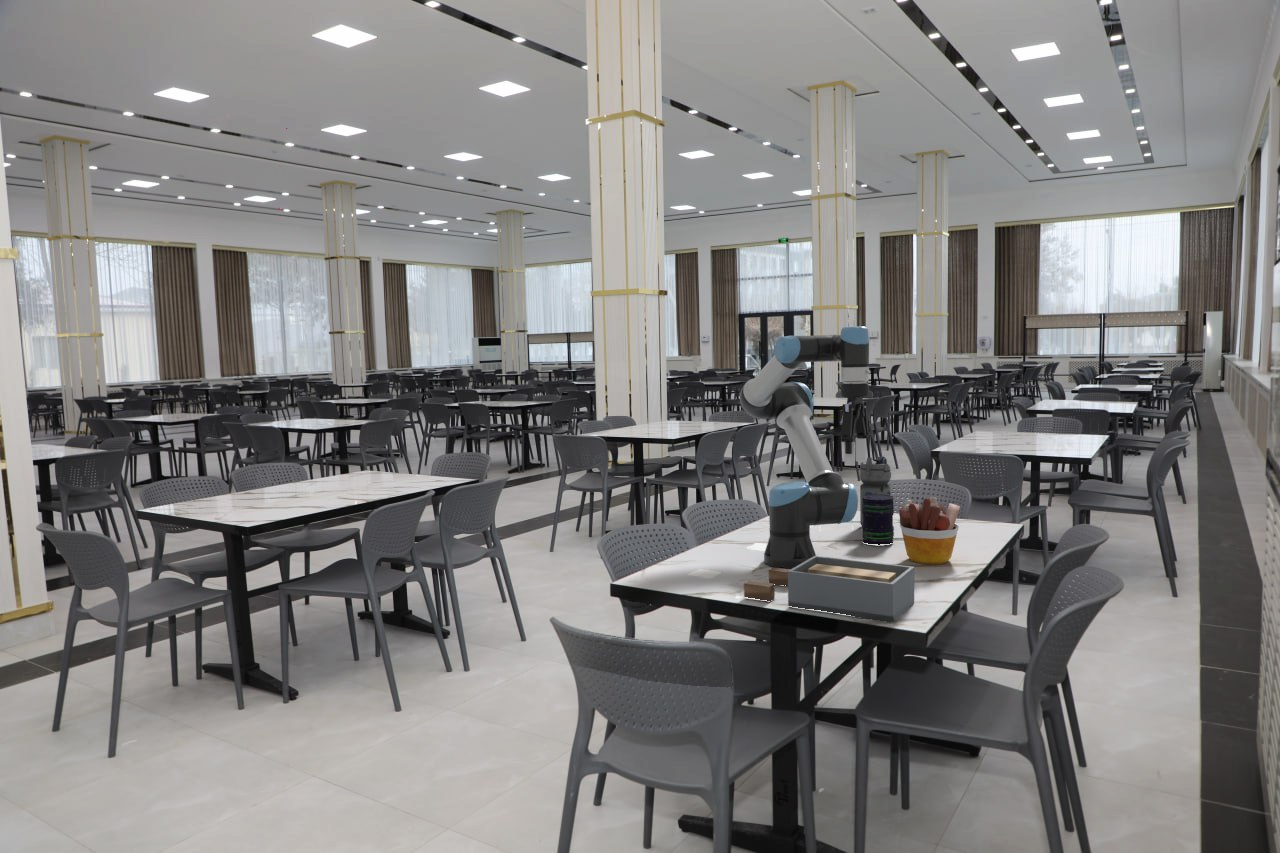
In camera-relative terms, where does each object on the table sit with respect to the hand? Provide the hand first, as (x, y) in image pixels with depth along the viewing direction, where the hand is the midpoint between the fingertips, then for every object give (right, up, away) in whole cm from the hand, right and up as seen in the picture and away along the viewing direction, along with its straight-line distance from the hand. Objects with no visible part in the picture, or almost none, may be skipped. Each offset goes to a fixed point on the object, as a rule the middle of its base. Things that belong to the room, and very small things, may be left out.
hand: (855, 463), depth 241 cm
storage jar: (+16, -27, +36) cm, 48 cm away
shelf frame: (-9, -33, -30) cm, 46 cm away
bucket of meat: (+24, -29, +11) cm, 40 cm away
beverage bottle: (+22, -25, +60) cm, 69 cm away
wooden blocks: (-26, -33, -17) cm, 45 cm away
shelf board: (-9, -27, -31) cm, 42 cm away
